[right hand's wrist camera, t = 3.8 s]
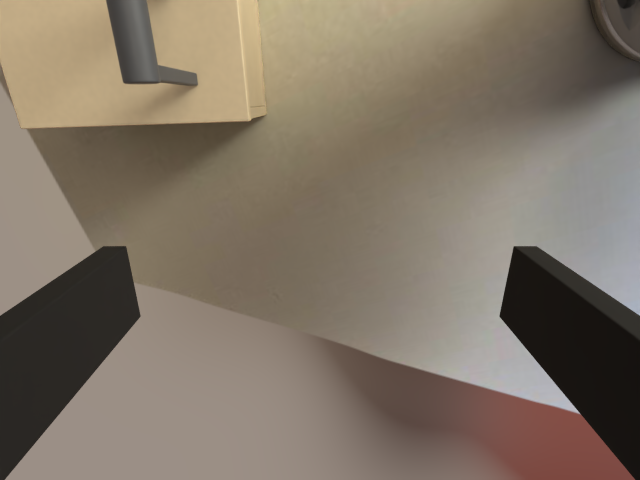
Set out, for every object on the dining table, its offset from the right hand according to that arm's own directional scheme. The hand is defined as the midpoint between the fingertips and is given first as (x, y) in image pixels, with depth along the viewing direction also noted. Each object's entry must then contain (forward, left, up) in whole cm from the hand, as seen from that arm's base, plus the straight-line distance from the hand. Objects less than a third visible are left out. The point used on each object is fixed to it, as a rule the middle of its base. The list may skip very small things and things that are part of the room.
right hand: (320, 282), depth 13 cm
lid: (-6, -14, -14) cm, 21 cm away
